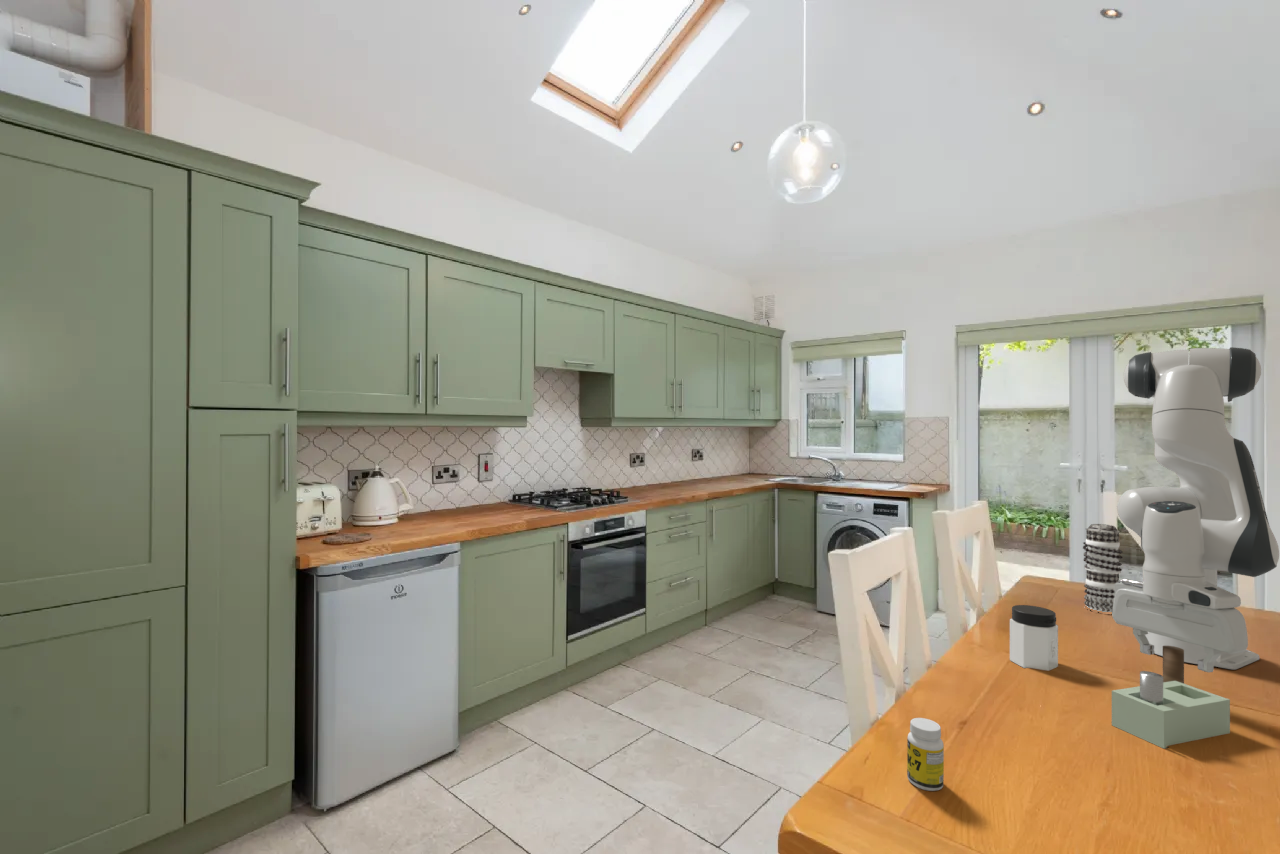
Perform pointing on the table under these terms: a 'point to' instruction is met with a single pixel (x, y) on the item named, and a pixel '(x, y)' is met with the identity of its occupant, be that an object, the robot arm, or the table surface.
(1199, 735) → the socket block
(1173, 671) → the walnut peg
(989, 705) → the table surface
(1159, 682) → the grey metal peg
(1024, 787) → the table surface
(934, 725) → the supplement bottle
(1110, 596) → the decorative candle
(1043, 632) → the jar
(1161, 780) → the table surface
